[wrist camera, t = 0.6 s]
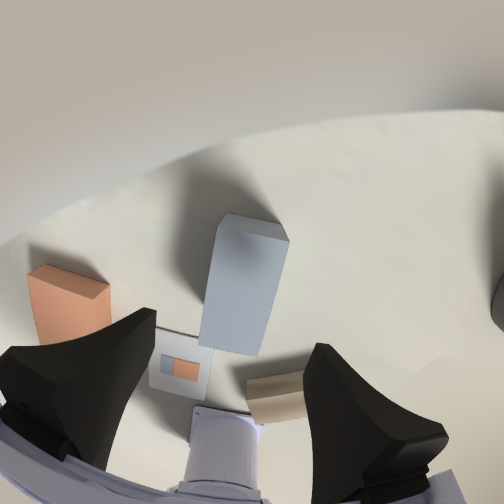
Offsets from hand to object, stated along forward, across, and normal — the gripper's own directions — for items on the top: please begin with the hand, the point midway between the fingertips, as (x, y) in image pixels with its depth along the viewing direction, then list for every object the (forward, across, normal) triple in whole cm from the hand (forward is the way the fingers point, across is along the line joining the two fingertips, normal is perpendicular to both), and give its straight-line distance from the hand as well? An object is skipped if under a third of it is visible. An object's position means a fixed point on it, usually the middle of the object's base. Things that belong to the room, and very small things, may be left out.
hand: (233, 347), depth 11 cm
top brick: (+10, 0, 0) cm, 10 cm away
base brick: (+10, +15, +8) cm, 20 cm away
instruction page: (+10, +4, +11) cm, 15 cm away
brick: (+10, -7, +11) cm, 16 cm away
